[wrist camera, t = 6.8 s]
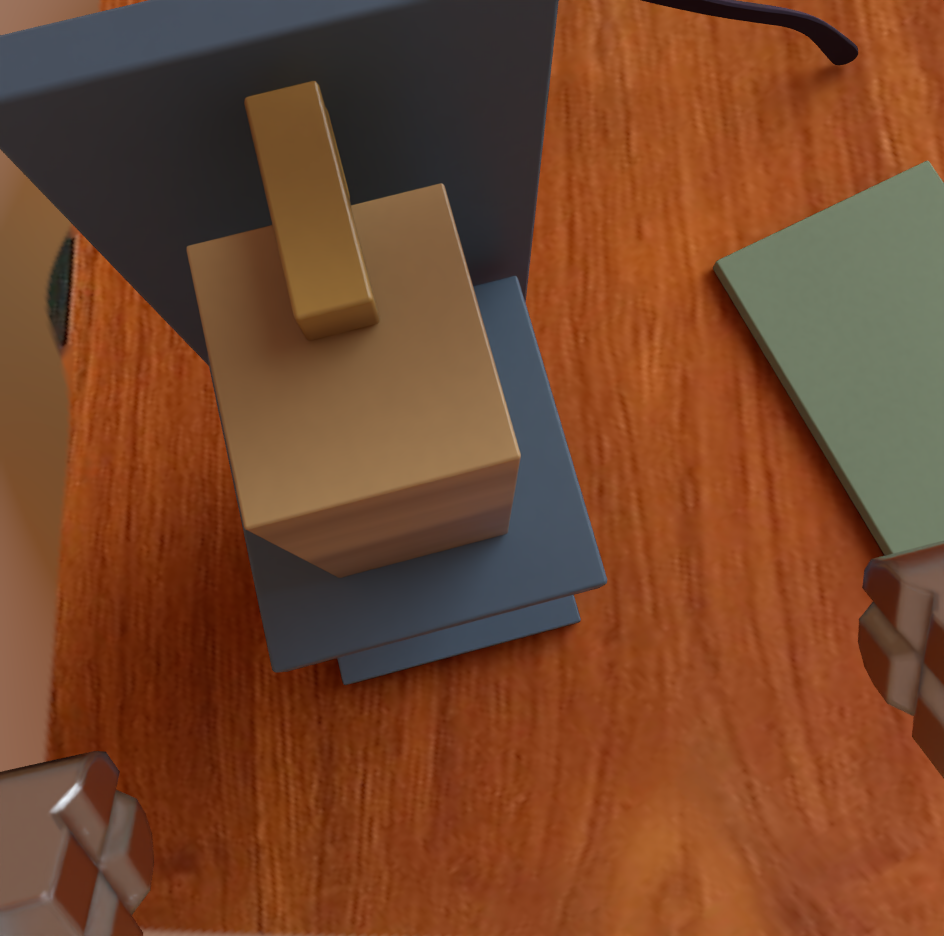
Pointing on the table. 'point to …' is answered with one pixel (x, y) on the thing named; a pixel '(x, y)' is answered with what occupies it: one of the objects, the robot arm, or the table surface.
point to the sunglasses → (775, 23)
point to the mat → (862, 344)
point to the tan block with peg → (351, 361)
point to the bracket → (367, 178)
